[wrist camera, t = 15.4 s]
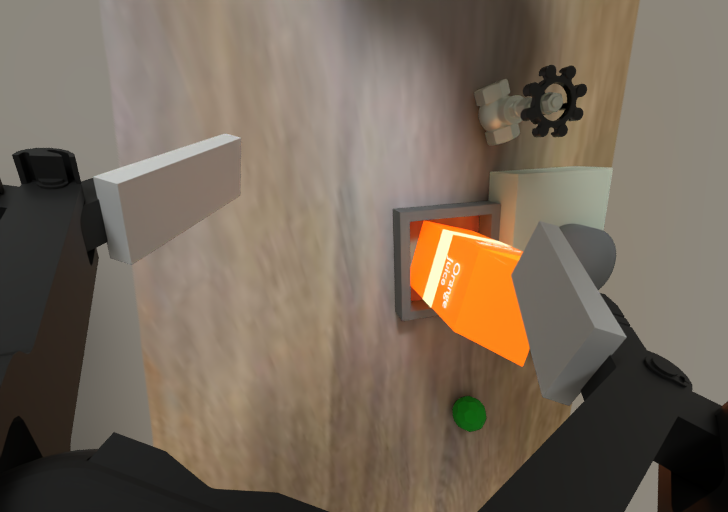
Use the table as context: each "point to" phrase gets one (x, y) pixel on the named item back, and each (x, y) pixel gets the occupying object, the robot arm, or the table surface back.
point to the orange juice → (471, 287)
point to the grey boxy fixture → (521, 221)
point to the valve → (528, 106)
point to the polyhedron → (469, 413)
